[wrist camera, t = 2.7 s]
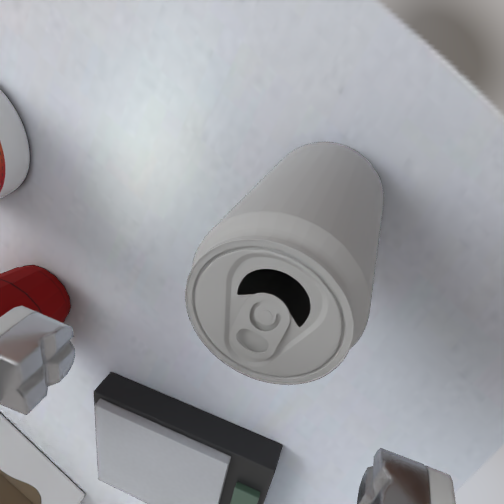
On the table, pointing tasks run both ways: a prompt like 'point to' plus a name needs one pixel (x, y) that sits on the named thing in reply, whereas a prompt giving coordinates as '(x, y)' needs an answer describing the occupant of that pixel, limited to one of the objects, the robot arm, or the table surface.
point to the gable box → (30, 473)
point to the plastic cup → (34, 292)
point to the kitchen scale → (176, 449)
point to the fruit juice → (12, 148)
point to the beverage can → (291, 268)
